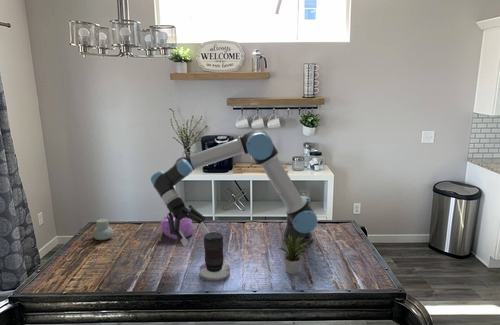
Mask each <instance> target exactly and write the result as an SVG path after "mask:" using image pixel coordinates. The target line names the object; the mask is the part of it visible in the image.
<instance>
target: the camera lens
mask: <svg viewBox="0 0 500 325" xmlns="http://www.w3.org/2000/svg"><path fill="white" fill-rule="evenodd" d="M209 232H210V231H209ZM203 248H204V263H205V265H206V268H207V270H208V271H211V272H216V271H220V270H221V269H222V266H223V262H224V236H223V233H221V232H217V231H211V232H210V233H207V234H204V236H203Z"/></svg>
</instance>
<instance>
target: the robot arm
mask: <svg viewBox="0 0 500 325" xmlns="http://www.w3.org/2000/svg"><path fill="white" fill-rule="evenodd" d="M278 151H279V150H278V149H277V148H276V146H275V144H274V142H273V140H272V138H271V136H269V135H268V134H267V132H265V131H264V130H263V129H254V130H251V131H248V132H246V133H243V134H242V135H238V137H237V138H236V139H233V140H230V141H228V142H224V143H221V144H218V145H216V146H213V147H210V148H208V149H205V150H202V151H199V152H196V153H192V154H190V155H187V156H181V157H179V158H177V159H176V161H175V163H174V164H173V166H171V167H170V168H169V169H168V170H167V171H163V170H159V171H157V172H155V173H154V174H152V176H151V177H150V181H151V182H150V183H151V184H152V185H153V186H152V187H153V188H154V189H155V190H156V192H157V193H158V195H159V197H160V198H161V199H162V202H163V203H164V205H165V206H166V208H167V210H168V211H169V212H167V213H168V214H167V213H166V215H167V218H168V222H169V229H170V234H171V235H172V234H173V235H176V236H177V238H178V241H180V242H181V244H182V245H183V247H187V246H188V245H189V241H188V239H187V237H184V235H183V233H182V232H181V231H179V225H180V220H182V219H184V218H189V219H191V220H193V221H192V222H195V223H197V224H198V226H199V228H200V229H201V231H202V233H203V234H204V235H205V234H207V233H210V231H209V229H208V226H207V224H206V223H205V220H206V219H207V218H206V217H205V216H204V215H203V214H201V213H200V212H199V211H198V210H197V209H195V208H194V207H193V206H192V205H191V204H189V205H188V206H185V202H184V200H183V199H182V197H181V195H180V194H179V193H178V191H177V190H176V188H175V186H176V185H177V184H178V183H180V182H181V181H182V180H184V179H185V178H186V177H188V176H189V175H190V174H191V173H192V172H193V171H194V170H198V169H200V168H201V169H202V168H203V167H205V166H209V165H212V164H215V163H217V162H221V161H224V160H226V159H229V158H233V157H235V156H238V155H242V154H243V155H247V154H249V155H250V157H251V158H252V159H253V161H254V163H255V164H256V165H257V166H259V167H261V168H262V169H263V172H264V174H265V175H266V176H267V178H268V179H269V181H270V183H271V185H272V186H273V187H274V189H275V191H276V192H277V195H278V197H280V199H281V201H282V203H283V204H284V206H285V210H284V211H285V213H286V225H285V228H284V231H283V235H282V239H283V240H284V241H285V242H286V243H289V240H288V236H289V235H290V237H291V236H292V239H293V245H294V244H295V242H296V240H297V239H298V237H299V236H300V237H299V239H301V238H302V237H303V239H302V240H301V243H300V244H299V245H301V244H303V243H305V244H307V243H306V242H310V243H311V242H312V240H313V234H312V231H314V230H315V229H316V227H317V225H318V216H317V214H316V213H315V212H314V210H313V209H312V207H311V206H310V204H311V199H310V197H309V196H305V195H301V194H300V193H299V191H298V189H297V188H296V186H295V185H294V183H293V181H292V179H291V177H290V176H289V174H288V173H287V171H286V169H285V168H284V166H283V164H282V162H281V161H280V159H279V158H278V154H279V152H278ZM173 216H174V217H175V227H174V220H173ZM298 241H299V240H298Z"/></svg>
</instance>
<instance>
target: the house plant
mask: <svg viewBox="0 0 500 325" xmlns="http://www.w3.org/2000/svg"><path fill="white" fill-rule="evenodd" d="M299 237H300V236H299ZM299 237H298V239H297V240H296V242H295V244H293V239H292V236H291V237H290V235H289V236H288V240H289V242H286V241H285V240H284V239H283V238H281V241H283V243H282V246H284V247H279V248H278V249H279V250H281V251H284V252H285V253H284V264H285V270H286V273H288V274H289V275H296V274H297V273H298V272H299V269H300V264H301V260H302V259H301V257H302V258H303V259H304V254H303V253H307V251H306V250H307V248H304V246H308V245H309V246H310V244H309V243H311V242H306V244H305V243H303V244H300V243H301V240H302V239H303V237H302V238H301V239H299ZM298 240H299V241H298ZM300 256H301V257H300Z"/></svg>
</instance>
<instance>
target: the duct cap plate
mask: <svg viewBox="0 0 500 325" xmlns="http://www.w3.org/2000/svg"><path fill="white" fill-rule="evenodd" d="M230 275H231V266H230V265H229V264H228V263H227V262H224V261H223V266H222V269H221V270H220V271H216V272H211V271H208V270H207V268H206V265H205V262H204V263H203V264H201V265H200V266H199V277H200V279H201V280H203V281H205V282H208V283H219V282H224V281H226V280H227V279H229V277H230Z"/></svg>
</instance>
